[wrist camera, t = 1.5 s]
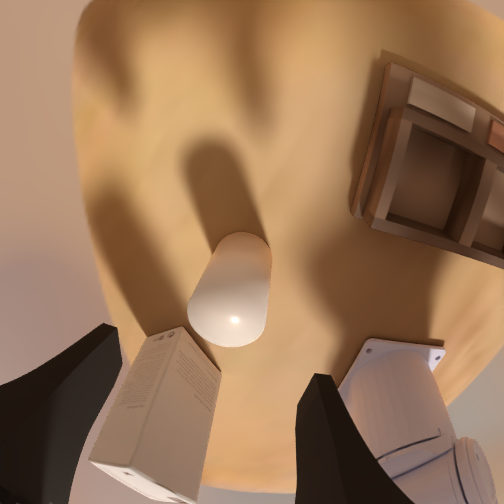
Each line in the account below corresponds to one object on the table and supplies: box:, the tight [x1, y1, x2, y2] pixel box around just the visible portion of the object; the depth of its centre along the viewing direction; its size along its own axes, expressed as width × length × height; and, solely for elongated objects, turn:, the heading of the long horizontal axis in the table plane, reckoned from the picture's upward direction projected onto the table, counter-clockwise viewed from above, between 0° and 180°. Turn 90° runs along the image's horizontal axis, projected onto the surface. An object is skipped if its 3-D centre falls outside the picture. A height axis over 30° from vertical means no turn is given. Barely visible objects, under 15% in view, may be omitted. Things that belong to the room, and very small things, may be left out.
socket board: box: [350, 63, 504, 269], centre depth 13 cm, size 9×13×3 cm
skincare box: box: [88, 326, 222, 504], centre depth 17 cm, size 6×4×12 cm
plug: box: [187, 232, 272, 347], centre depth 16 cm, size 4×4×6 cm
